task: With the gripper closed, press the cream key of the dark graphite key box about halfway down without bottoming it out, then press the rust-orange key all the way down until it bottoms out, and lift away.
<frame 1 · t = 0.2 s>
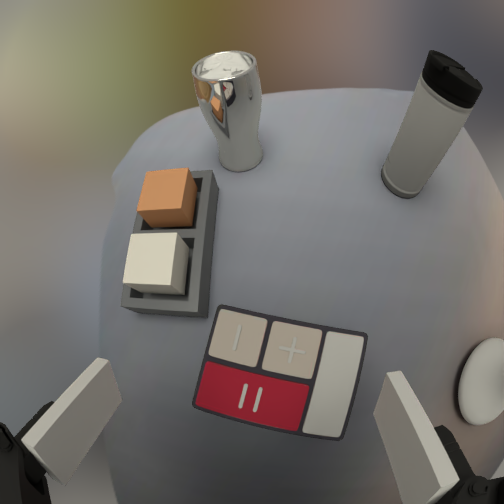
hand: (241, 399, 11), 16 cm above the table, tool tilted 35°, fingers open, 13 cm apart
travel mug: (399, 180, 33), on the table
flower in vase: (477, 380, 23), on the table
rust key: (168, 198, 29), point 5 cm above the table, slide at 0.0 cm
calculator: (280, 373, 27), on the table
cream key: (157, 264, 26), point 5 cm above the table, slide at 0.0 cm
key housing: (178, 247, 32), on the table
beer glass: (241, 156, 37), on the table
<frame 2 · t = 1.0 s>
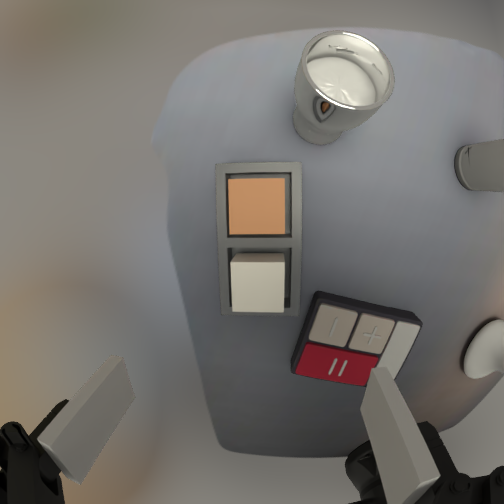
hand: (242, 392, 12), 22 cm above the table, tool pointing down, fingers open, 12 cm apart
travel mug: (467, 168, 28), on the table
flower in vase: (480, 344, 33), on the table
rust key: (258, 205, 26), point 5 cm above the table, slide at 0.0 cm
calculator: (353, 337, 34), on the table
cream key: (259, 281, 28), point 5 cm above the table, slide at 0.0 cm
key housing: (261, 236, 32), on the table
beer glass: (318, 121, 29), on the table
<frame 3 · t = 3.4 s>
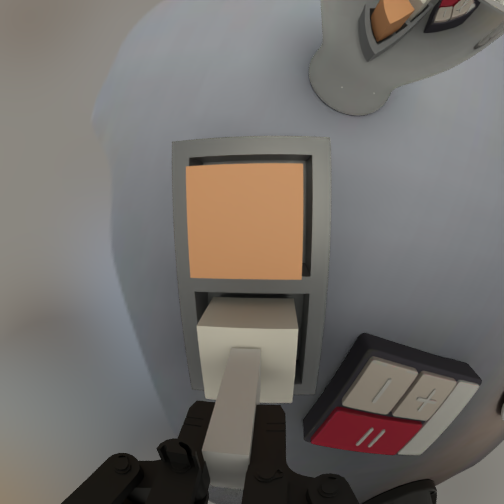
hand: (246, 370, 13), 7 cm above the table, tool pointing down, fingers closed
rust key: (248, 218, 14), point 5 cm above the table, slide at 0.0 cm
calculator: (392, 393, 22), on the table
cream key: (250, 349, 16), point 5 cm above the table, slide at 0.3 cm, touching gripper
key housing: (255, 265, 19), on the table
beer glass: (349, 79, 16), on the table
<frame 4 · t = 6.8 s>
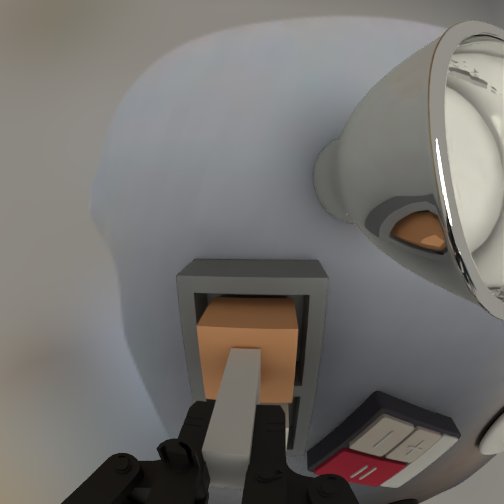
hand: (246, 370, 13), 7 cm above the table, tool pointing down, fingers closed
flower in vase: (499, 420, 22), on the table
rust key: (250, 349, 16), point 5 cm above the table, slide at 0.5 cm, touching gripper
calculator: (385, 436, 23), on the table
cream key: (252, 428, 17), point 4 cm above the table, slide at 0.7 cm
key housing: (256, 358, 21), on the table
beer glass: (355, 179, 18), on the table
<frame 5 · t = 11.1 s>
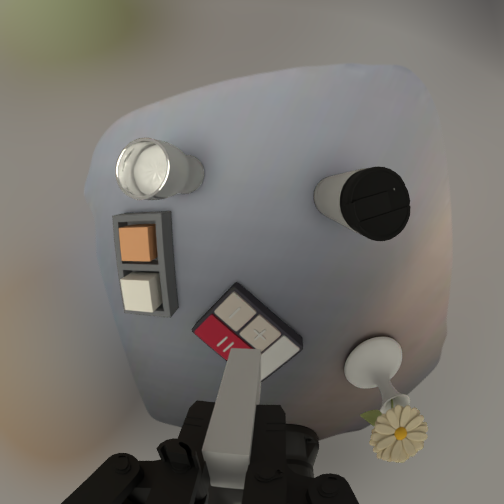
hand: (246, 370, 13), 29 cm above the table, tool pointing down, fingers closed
travel mug: (332, 197, 40), on the table
flower in vase: (367, 356, 45), on the table
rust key: (139, 242, 40), point 3 cm above the table, slide at 1.8 cm
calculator: (248, 330, 46), on the table
cream key: (141, 291, 41), point 4 cm above the table, slide at 0.7 cm
key housing: (150, 260, 44), on the table
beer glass: (185, 174, 41), on the table
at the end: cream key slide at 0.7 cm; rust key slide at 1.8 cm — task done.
